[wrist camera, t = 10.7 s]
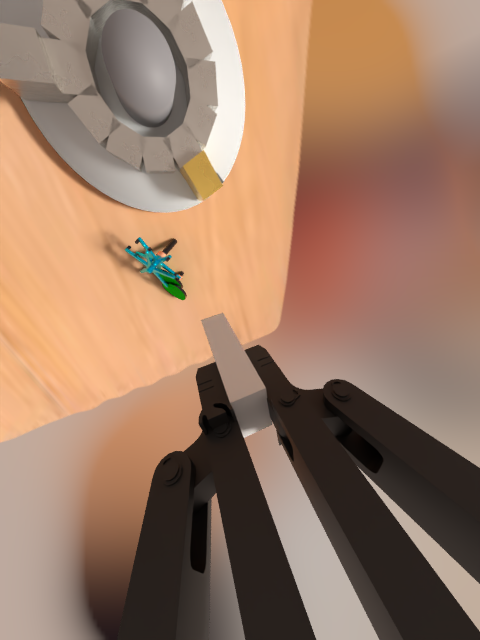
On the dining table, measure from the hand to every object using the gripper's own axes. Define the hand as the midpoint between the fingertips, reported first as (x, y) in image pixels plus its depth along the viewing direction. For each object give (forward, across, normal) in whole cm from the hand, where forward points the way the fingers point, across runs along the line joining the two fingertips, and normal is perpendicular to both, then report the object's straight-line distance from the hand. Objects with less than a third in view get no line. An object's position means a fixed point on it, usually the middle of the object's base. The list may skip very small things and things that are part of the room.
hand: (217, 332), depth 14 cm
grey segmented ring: (+23, +3, +17) cm, 28 cm away
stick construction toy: (+25, -3, -1) cm, 25 cm away
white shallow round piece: (+24, +2, +18) cm, 31 cm away
